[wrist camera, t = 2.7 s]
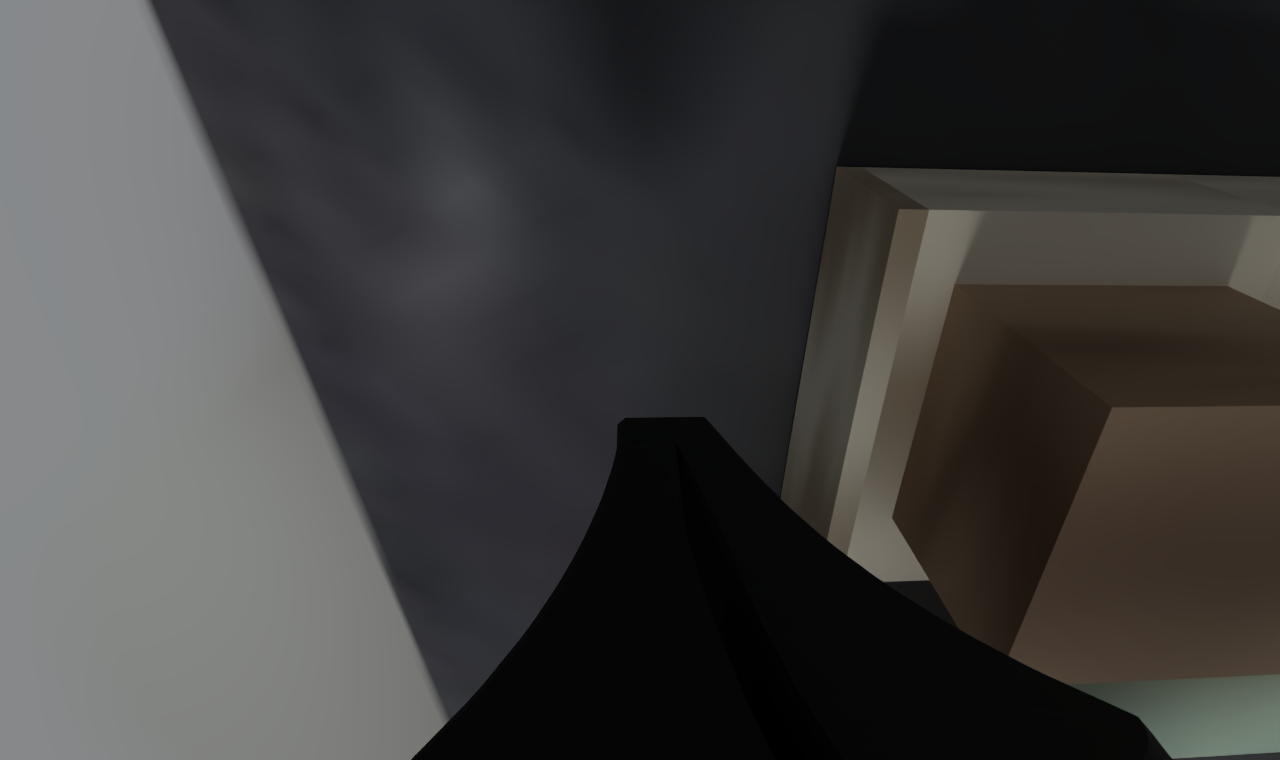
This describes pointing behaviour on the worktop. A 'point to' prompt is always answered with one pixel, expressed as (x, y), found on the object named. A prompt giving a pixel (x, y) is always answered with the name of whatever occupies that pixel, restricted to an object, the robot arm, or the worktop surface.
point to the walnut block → (1104, 479)
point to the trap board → (910, 332)
